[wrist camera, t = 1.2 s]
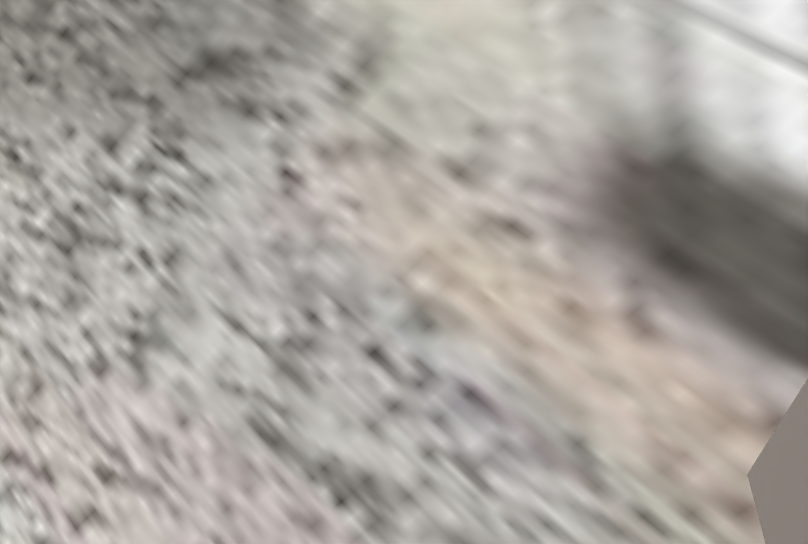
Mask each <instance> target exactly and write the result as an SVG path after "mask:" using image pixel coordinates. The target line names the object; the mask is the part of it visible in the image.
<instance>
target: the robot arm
mask: <svg viewBox="0 0 808 544" xmlns="http://www.w3.org/2000/svg"><path fill="white" fill-rule="evenodd" d="M747 475H748V478H749V482H750V486H751V490H752V494H753V497H754V501H755V505H756V509H757V512H758V516H759V520H760V524H761V528H762V531H763V535H764V539H765V543H766V544H808V379H807V381H806V382H805V384H804V385H803V387H802V389H801V390H800V392H799V393H798V395H797V396H796V398H795V400H794V401H793V403H792V404H791V406H790V408H789V409H788V411H787V412H786V414H785V415H784V417H783V419H782V420H781V422H780V423H779V425H778V427H777V428H776V430H775V431H774V433H773V435H772V436H771V438H770V439H769V441H768V442H767V444H766V446H765V447H764V449H763V450H762V452H761V454H760V455H759V457H758V458H757V460H756V461H755V463H754V465H753V466H752V468H751V469H750V471H749V473H748V474H747Z"/></svg>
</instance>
